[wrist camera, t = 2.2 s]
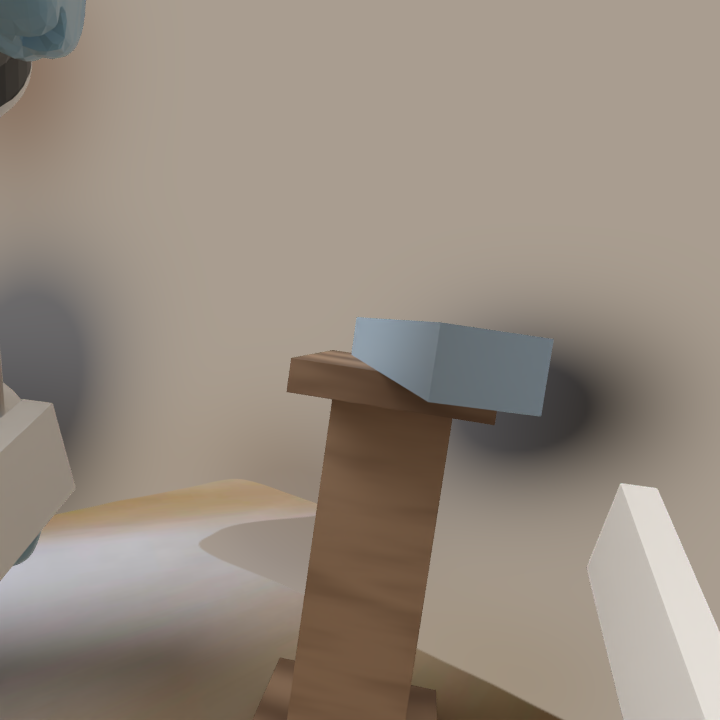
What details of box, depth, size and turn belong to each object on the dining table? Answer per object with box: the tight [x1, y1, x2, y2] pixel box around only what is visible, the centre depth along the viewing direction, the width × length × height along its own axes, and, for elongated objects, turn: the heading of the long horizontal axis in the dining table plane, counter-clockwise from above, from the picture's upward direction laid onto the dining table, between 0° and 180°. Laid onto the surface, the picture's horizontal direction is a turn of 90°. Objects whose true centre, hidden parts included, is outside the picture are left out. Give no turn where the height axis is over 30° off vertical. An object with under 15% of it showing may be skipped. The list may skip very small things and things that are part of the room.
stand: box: [253, 350, 497, 720], centre depth 41 cm, size 16×14×30 cm
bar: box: [351, 317, 553, 416], centre depth 33 cm, size 24×4×3 cm, turn 8°
